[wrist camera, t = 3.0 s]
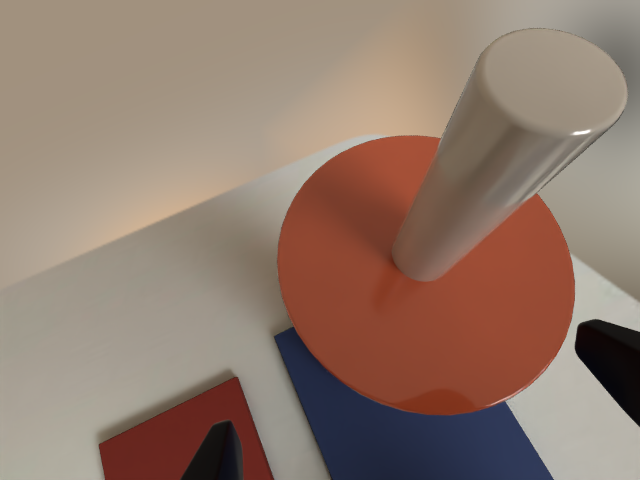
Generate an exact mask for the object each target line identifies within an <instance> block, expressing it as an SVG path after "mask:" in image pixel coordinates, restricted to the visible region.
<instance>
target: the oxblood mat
mask: <svg viewBox="0 0 640 480" xmlns="http://www.w3.org/2000/svg"><path fill="white" fill-rule="evenodd" d="M225 420H231V421H232V423H233V425H234V427H235V429H236V432H237V434H238V436H239V439H240V441H241V445H242V452H243V479H244V480H274V478H273V475H272V472H271V470H270V467H269V464H268V461H267V458H266V455H265V452H264V450H263V447H262V444H261V441H260V438H259V435H258V433H257V430H256V427H255V424H254V421H253V418H252V416H251V413H250V410H249V407H248V404H247V401H246V399H245V396H244V393H243V390H242V387H241V384H240V381H239V379H238V377H234V378H232V379H230V380H228V381H226V382H224V383H222V384H220V385H218V386H216V387H214V388H212V389H210V390H208V391H206V392H204V393H202V394H200V395H198V396H196V397H194V398H192V399H190V400H188V401H186V402H184V403H182V404H180V405H178V406H175V407H173V408H171V409H169V410H167V411H165V412H163V413H161V414H159V415H157V416H155V417H153V418H151V419H149V420H147V421H145V422H143V423H141V424H139V425H137V426H135V427H133V428H131V429H129V430H127V431H125V432H123V433H121V434H119V435H117V436H115V437H113V438H111V439H109V440H107V441H105V442H103V443H101V444H99V449H100V454H101V460H102V465H103V470H104V476H105V480H180V478H181V477H182V475H183V473H184V472H185V470H186V468H187V467H188V465H189V463H190V462H191V460H192V458H193V457H194V455H195V453H196V451H197V450H198V448H199V446H200V445H201V443H202V441H203V440H204V438H205V436H206V435H207V433H208V431H209V430H210V428H211V426H212V425H213V424H215V423H217V422H221V421H225Z"/></svg>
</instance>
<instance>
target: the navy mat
mask: <svg viewBox="0 0 640 480" xmlns="http://www.w3.org/2000/svg"><path fill="white" fill-rule="evenodd" d="M274 338H275V340H276V343H277V345H278V348H279V350H280V353H281V355H282V358H283V360H284V362H285V365H286V367H287V370H288V372H289V375H290V377H291V380H292V382H293V384H294V387H295V389H296V392H297V394H298V397H299V399H300V402H301V404H302V407H303V409H304V411H305V414H306V416H307V419H308V421H309V424H310V426H311V429H312V431H313V433H314V436H315V438H316V441H317V443H318V446H319V448H320V451H321V453H322V455H323V458H324V460H325V463H326V465H327V468H328V470H329V473H330V475H331V478H332V480H554V479H553V478H552V476H551V474H550V473H549V471H548V470H547V468H546V466H545V465H544V463H543V461H542V460H541V458H540V457H539V455H538V453H537V452H536V450H535V449H534V447H533V445H532V444H531V442H530V441H529V439H528V437H527V436H526V434H525V433H524V431H523V429H522V428H521V426H520V425H519V423H518V421H517V420H516V418H515V416H514V415H513V413H512V412H511V410H510V408H509V407H508V405H507V404H506V402H505V401H504V402H502V403H500V404H498V405H496V406H493V407H490V408H487V409H483V410H480V411H476V412H473V413H466V414H458V415H450V416H447V415H423V414H417V413H411V412H405V411H401V410H398V409H395V408H392V407H388V406H385V405H382V404H380V403H378V402H376V401H373V400H371V399H369V398H367V397H365V396H363V395H361V394H359V393H357V392H355V391H354V390H352V389H350V388H348V387H347V386H345V385H343V384H341V383H340V382H338V381H336V380H335V379H333V378H332V377H331V376H330V375H328V373H327V372H326V371H325V370H324V369H323V368H322V366H321V365H320V364H319V363H318V361H317V360H316V359H315V358H314V356H313V355H312V354H311V352H310V351H309V350H308V348H307V347H306V345H305V344H304V342H303V341H302V340H301V338H300V337H299V335H298V334H297V332H296V330H295V328H294V327H292V328H290V329H288V330H286V331H284V332H282V333H280V334H277V335H275V336H274Z"/></svg>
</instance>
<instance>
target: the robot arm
mask: <svg viewBox="0 0 640 480" xmlns="http://www.w3.org/2000/svg"><path fill="white" fill-rule="evenodd" d="M575 351H576V354H577V355H578V357H579V358H580V360H581V361H582V362H583V363H584V364H585V365H586V367H587V368H588V369H589V370H590V371H591V373H592V374H593V375H594V376H595V377H596V378H597V380H598V381H599V382H600V383H601V384H602V386H603V387H604V388H605V389H606V390H607V391H608V393H609V394H610V395H611V396H612V397H613V399H614V400H615V401H616V402H617V403H618V404H619V406H620V407H621V408H622V409H623V410H624V411H625V412H626V413H627V414H628V415H629V416H630V418H631V419H632V420H633V421H634V422H635V423H636V424H637V425H638V426H639V427H640V332H638V331H635V330H632V329H628V328H625V327H622V326H618V325H615V324H612V323H608V322H605V321H602V320H598V319H593V320H589V321H585V322H582V323H580V324H579V325H578V327H577V334H576V341H575ZM180 480H244V479H243V452H242V445H241V441H240V439H239V436H238V434H237V432H236V429H235V427H234V425H233V423H232V421H231V420H225V421H221V422H217V423H215V424H213V425H212V426H211V428H210V430H209V431H208V433H207V435H206V436H205V438H204V440H203V441H202V443H201V445H200V446H199V448H198V450H197V451H196V453H195V455H194V457H193V458H192V460H191V462H190V463H189V465H188V467H187V468H186V470H185V472H184V473H183V475H182V477H181V478H180Z"/></svg>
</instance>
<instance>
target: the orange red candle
mask: <svg viewBox="0 0 640 480" xmlns="http://www.w3.org/2000/svg"><path fill="white" fill-rule="evenodd" d="M627 99H628V86H627V82H626V79H625V76H624V74H623V72H622V70H621V69H620V67H619V66H618V65H617V63H616V62H615V61H614V60H613V58H611V57H610V56H609V55H608V54H607V53H606V52H605V51H603V50H602V49H601V48H600V47H598V46H596V45H595V44H593V43H592V42H590V41H588V40H586V39H584V38H581V37H579V36H577V35H573V34H571V33H568V32H563V31H560V30H553V29H545V28H530V29H522V30H517V31H513V32H510V33H507V34H505V35H503V36H501V37H499V38H498V39H496V40H495V41H493V42H492V43H491V44H490V45H489V46H488V47H487V48H486V49H485V50H484V51H483V52H482V53H481V55H480V56H479V58H478V60H477V62H476V64H475V67H474V69H473V71H472V73H471V75H470V77H469V79H468V82H467V84H466V86H465V88H464V90H463V92H462V94H461V97H460V99H459V101H458V103H457V105H456V107H455V109H454V112H453V114H452V116H451V118H450V120H449V122H448V125H447V126H446V129H445V131H444V133H443V135H442V137H441V138H436V137H428V136H393V137H385V138H380V139H376V140H372V141H368V142H365V143H362V144H359V145H356V146H354V147H352V148H350V149H348V150H346V151H344V152H341V153H340V154H338V155H337V156H335V157H333V158H332V159H330V160H329V161H327V162H326V163H325V164H324V165H322V166H321V167H320V168H319V169H318V170H316V171H315V172H314V173H313V174H312V176H311V177H310V178H309V179H308V180H307V181H306V182H305V183H304V184H303V186H302V187H301V189H300V190H299V191H298V193H297V194H296V196H295V197H294V199H293V201H292V203H291V205H290V207H289V209H288V211H287V213H286V216H285V219H284V222H283V224H282V227H281V232H280V237H279V242H278V253H277V269H278V281H279V286H280V290H281V295H282V299H283V302H284V305H285V307H286V310H287V313H288V316H289V318H290V320H291V322H292V324H293V326H294V328H295V330H296V332H297V334H298V335H299V337H300V338H301V340H302V341H303V342H304V344H305V345H306V347H307V348H308V350H309V351H310V352H311V354H312V355H313V356H314V358H315V359H316V360H317V361H318V363H319V364H320V365H321V366H322V368H323V369H324V370H325V371H326V372H327V373H328V375H330V376H331V377H332V378H333V379H335V380H336V381H338V382H340V383H341V384H343V385H345V386H347V387H348V388H350V389H352V390H354V391H355V392H357V393H359V394H361V395H363V396H365V397H367V398H369V399H371V400H373V401H376V402H378V403H380V404H382V405H385V406H388V407H392V408H395V409H398V410H401V411H405V412H411V413H417V414H423V415H447V416H450V415H458V414H466V413H473V412H476V411H480V410H483V409H487V408H490V407H493V406H496V405H498V404H500V403H502V402H504V401H506V400H508V399H510V398H512V397H514V396H515V395H517V394H518V393H520V392H521V391H523V390H524V389H526V388H527V387H529V386H530V385H531V384H532V383H533V382H534V381H535V380H536V379H537V378H538V377H539V376H540V375H541V374H542V373H543V372H544V371H545V370H546V369H547V367H548V366H549V365H550V363H551V362H552V361H553V359H554V358H555V357H556V355H557V353H558V352H559V350H560V348H561V346H562V344H563V342H564V340H565V338H566V335H567V332H568V329H569V326H570V323H571V319H572V314H573V307H574V301H575V279H574V272H573V265H572V260H571V257H570V253H569V250H568V246H567V243H566V241H565V238H564V236H563V234H562V232H561V229H560V227H559V225H558V223H557V222H556V220H555V218H554V216H553V215H552V213H551V211H550V210H549V208H548V207H547V206H546V204H545V203H544V202H543V201H542V199H541V198H540V196H539V195H538V194H537V192H539V191H540V190H541V189H542V188H543V187H544V186H545V185H546V184H548V183H549V182H550V181H551V180H552V179H553V178H554V177H555V176H556V175H558V174H559V173H560V172H561V171H562V170H563V169H564V168H566V166H567V165H569V164H570V163H571V162H572V161H573V160H575V159H576V158H577V157H578V156H579V155H580V154H581V153H582V152H584V151H585V150H586V149H587V148H588V147H589V146H590V145H591V144H593V143H594V142H595V141H596V140H597V139H598V138H599V137H600V136H602V135H603V134H604V133H605V132H606V131H607V130H608V129H609V128H611V127H612V126H613V125H614V124H615V123H616V122H617V121H618V119H619V118H620V116H621V115H622V113H623V111H624V108H625V106H626V103H627Z"/></svg>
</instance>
